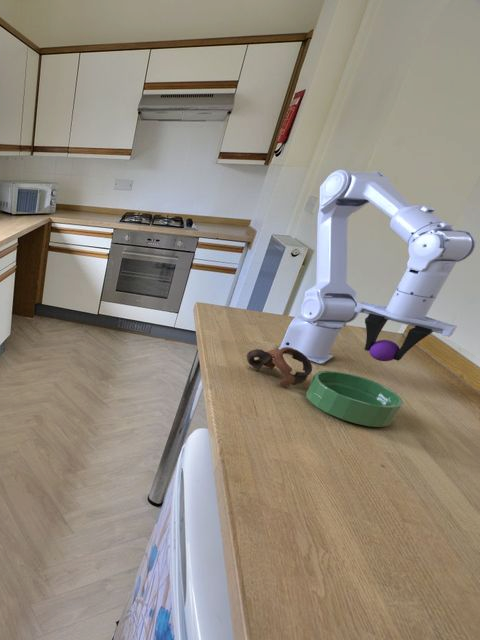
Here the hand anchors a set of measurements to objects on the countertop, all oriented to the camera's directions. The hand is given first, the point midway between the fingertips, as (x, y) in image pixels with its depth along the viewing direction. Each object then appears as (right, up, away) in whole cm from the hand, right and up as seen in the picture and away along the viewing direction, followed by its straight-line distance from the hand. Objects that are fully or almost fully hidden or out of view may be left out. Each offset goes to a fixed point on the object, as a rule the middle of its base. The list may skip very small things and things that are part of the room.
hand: (382, 354), depth 86 cm
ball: (0, +1, 0) cm, 1 cm away
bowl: (-12, -11, -4) cm, 17 cm away
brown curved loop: (-19, -5, +7) cm, 21 cm away
